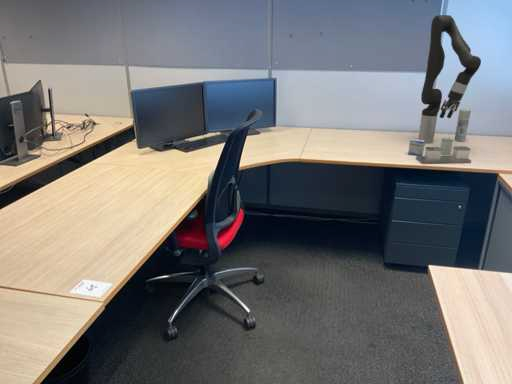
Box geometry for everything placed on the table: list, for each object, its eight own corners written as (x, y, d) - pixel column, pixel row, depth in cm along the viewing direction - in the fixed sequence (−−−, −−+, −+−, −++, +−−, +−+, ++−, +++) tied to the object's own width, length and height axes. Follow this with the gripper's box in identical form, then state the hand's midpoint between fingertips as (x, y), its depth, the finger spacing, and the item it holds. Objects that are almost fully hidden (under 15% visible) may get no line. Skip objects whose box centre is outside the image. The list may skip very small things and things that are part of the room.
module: (439, 153, 251) (442, 138, 248) (447, 153, 251) (449, 137, 248) (442, 155, 248) (445, 139, 244) (450, 155, 248) (453, 139, 244)
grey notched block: (416, 158, 242) (417, 146, 239) (462, 158, 243) (465, 145, 240) (422, 163, 234) (424, 150, 231) (470, 163, 234) (473, 149, 232)
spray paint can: (464, 139, 279) (469, 108, 272) (466, 142, 273) (471, 110, 266) (453, 138, 281) (458, 108, 273) (455, 141, 275) (460, 110, 267)
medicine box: (407, 154, 250) (409, 140, 246) (409, 152, 253) (411, 138, 250) (422, 156, 246) (424, 141, 243) (423, 154, 250) (425, 139, 247)
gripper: (457, 89, 249) (445, 115, 256) (445, 88, 240) (433, 115, 247) (469, 93, 244) (456, 120, 251) (457, 92, 235) (444, 120, 243)
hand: (444, 117), depth 249 cm, fingers open, 8 cm apart
